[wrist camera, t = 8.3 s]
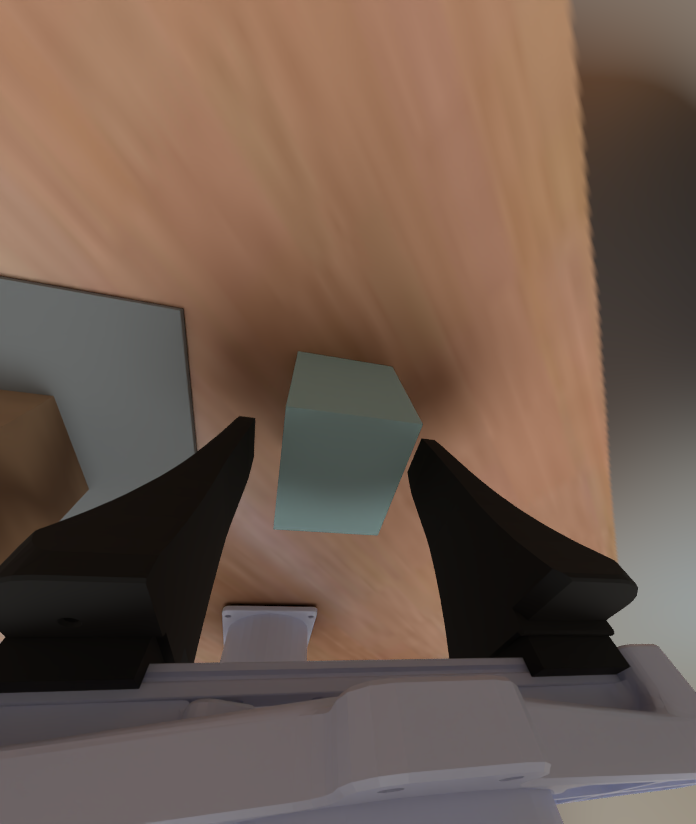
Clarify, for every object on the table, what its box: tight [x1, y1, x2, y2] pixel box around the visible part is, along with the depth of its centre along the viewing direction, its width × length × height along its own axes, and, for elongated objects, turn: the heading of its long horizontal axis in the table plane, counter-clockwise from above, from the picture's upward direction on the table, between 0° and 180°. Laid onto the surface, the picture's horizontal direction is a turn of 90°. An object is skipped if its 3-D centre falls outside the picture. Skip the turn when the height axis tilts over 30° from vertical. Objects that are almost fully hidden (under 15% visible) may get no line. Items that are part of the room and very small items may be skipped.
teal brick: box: [274, 351, 423, 535], centre depth 13 cm, size 6×4×5 cm
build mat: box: [0, 276, 197, 521], centre depth 14 cm, size 16×16×1 cm
